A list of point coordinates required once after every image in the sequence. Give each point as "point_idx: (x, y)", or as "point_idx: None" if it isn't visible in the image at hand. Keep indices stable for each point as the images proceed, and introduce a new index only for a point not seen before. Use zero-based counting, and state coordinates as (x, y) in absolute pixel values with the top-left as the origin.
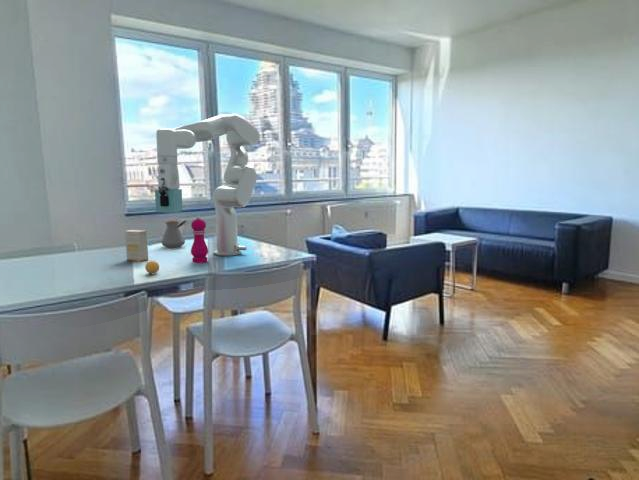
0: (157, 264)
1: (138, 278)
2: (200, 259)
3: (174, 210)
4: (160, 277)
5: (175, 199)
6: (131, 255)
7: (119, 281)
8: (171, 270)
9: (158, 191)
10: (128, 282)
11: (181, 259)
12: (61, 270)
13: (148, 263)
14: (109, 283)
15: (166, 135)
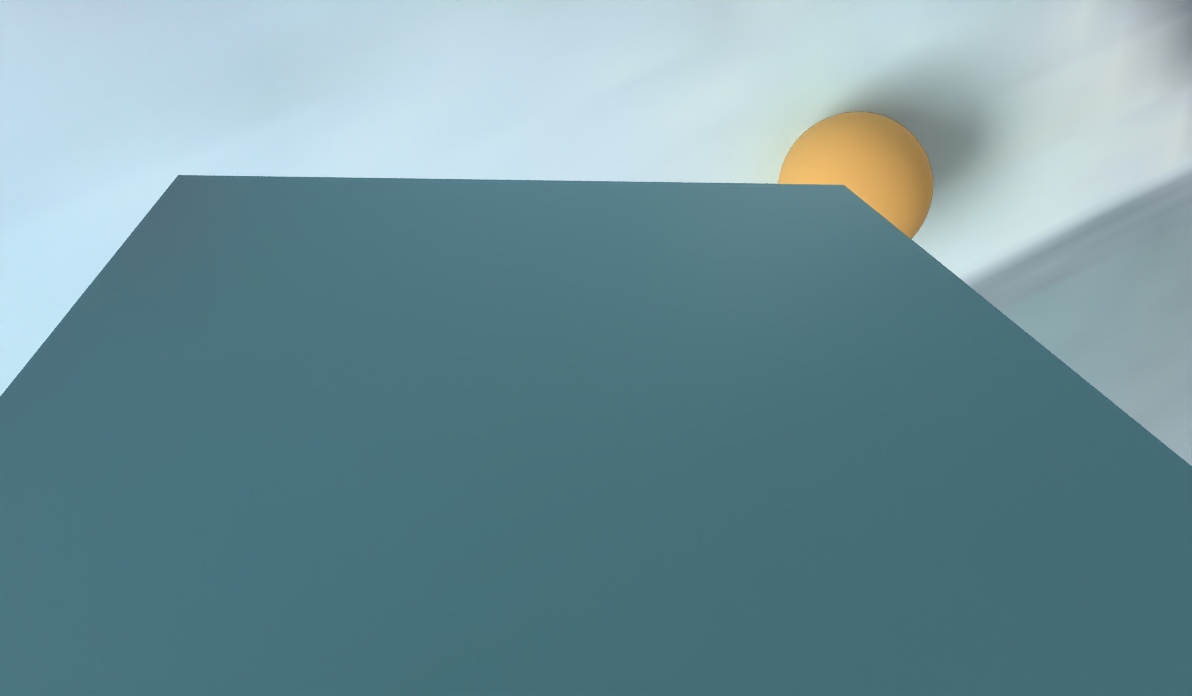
0: (884, 131)
1: (1024, 212)
2: None
3: (867, 210)
4: (1006, 7)
5: (929, 371)
6: None
7: (1115, 322)
8: (674, 19)
9: None
10: (1164, 230)
11: (5, 148)
12: None
13: (918, 224)
14: (1170, 365)
15: None
